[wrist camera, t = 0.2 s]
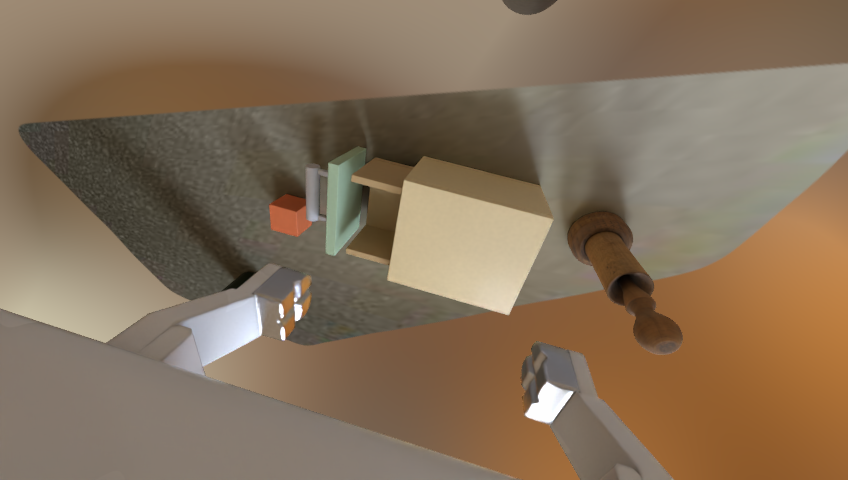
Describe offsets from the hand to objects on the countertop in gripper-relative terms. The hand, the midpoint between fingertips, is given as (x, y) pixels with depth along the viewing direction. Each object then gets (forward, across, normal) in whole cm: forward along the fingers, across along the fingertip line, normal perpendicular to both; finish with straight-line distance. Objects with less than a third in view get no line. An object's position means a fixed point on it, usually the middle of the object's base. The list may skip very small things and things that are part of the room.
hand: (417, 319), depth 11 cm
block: (+29, +22, +15) cm, 39 cm away
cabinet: (+29, -2, +9) cm, 31 cm away
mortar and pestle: (+29, -18, +7) cm, 35 cm away
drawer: (+28, +9, +9) cm, 31 cm away
